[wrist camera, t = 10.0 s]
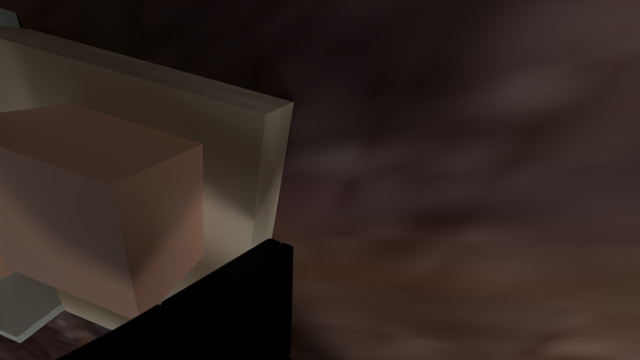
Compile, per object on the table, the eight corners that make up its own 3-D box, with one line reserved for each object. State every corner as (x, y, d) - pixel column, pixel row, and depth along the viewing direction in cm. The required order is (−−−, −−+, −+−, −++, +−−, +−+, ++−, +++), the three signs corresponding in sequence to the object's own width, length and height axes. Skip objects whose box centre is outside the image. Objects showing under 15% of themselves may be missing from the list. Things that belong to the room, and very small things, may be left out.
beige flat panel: (255, 339, 17) (235, 381, 14) (104, 279, 18) (64, 310, 16) (293, 102, 9) (265, 114, 7) (29, 28, 10) (-66, 19, 8)
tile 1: (203, 255, 10) (140, 322, 8) (101, 218, 11) (8, 268, 8) (202, 144, 8) (110, 185, 5) (71, 103, 8) (-73, 121, 6)
